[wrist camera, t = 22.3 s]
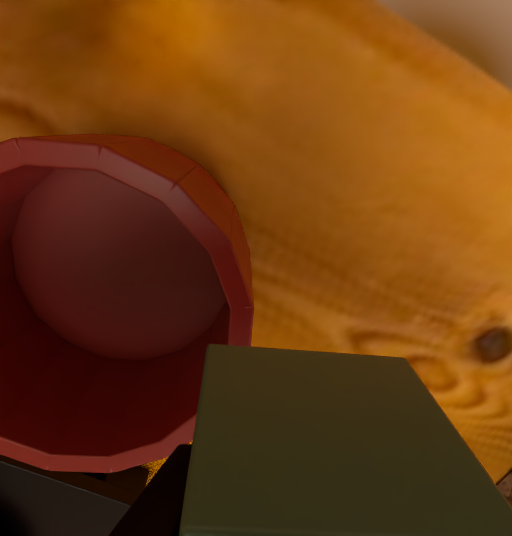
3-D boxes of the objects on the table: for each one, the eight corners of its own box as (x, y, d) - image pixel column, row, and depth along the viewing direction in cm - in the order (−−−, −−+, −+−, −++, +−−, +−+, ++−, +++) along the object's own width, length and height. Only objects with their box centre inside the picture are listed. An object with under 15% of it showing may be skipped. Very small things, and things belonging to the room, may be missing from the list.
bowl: (291, 209, 18) (317, 251, 12) (188, 399, 21) (166, 512, 15) (47, 84, 16) (-72, 58, 10) (-29, 312, 19) (-157, 401, 13)
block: (406, 355, 9) (543, 545, 5) (369, 506, 11) (451, 752, 6) (207, 342, 9) (178, 529, 5) (195, 499, 10) (166, 751, 6)
